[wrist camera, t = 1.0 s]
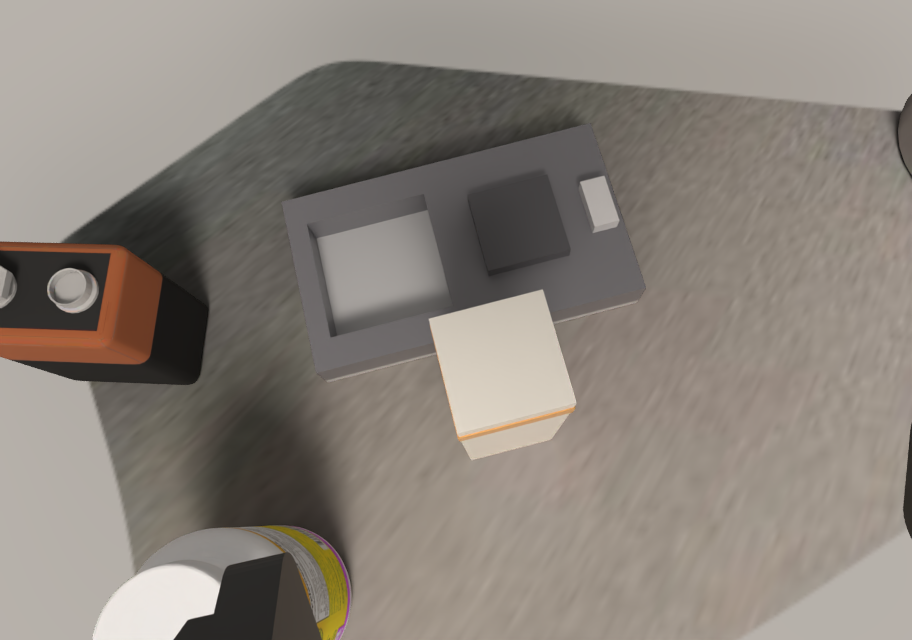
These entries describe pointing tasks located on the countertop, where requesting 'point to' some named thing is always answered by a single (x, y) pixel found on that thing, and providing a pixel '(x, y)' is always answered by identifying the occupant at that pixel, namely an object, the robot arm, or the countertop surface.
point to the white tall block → (503, 374)
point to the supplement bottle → (200, 574)
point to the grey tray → (457, 247)
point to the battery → (97, 315)
